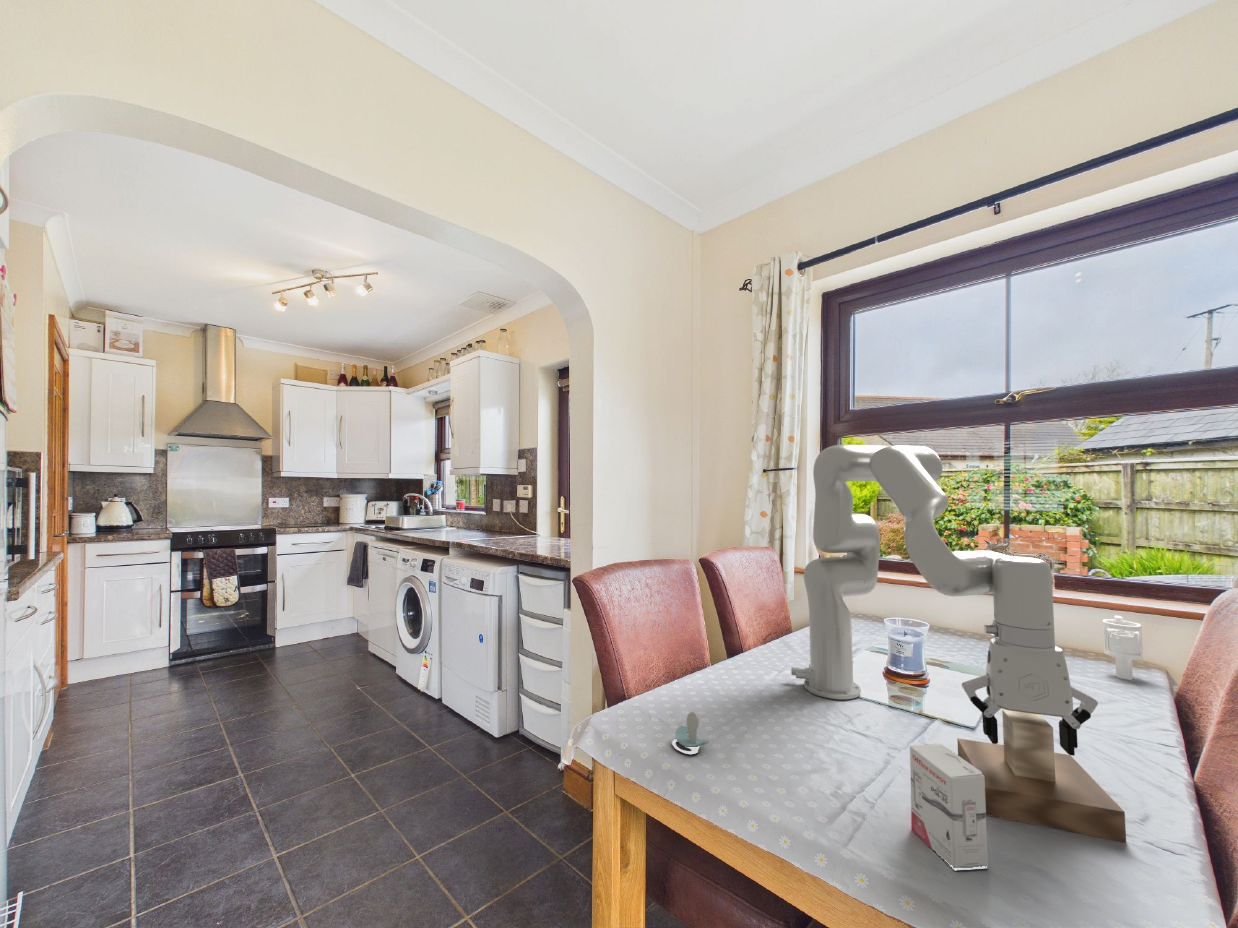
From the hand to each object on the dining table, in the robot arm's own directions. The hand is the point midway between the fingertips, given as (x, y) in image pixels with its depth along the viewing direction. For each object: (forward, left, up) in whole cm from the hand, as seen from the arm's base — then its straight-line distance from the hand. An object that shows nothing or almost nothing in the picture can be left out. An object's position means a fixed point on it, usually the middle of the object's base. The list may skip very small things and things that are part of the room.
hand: (1029, 745), depth 80 cm
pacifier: (-54, -4, -8) cm, 55 cm away
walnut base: (0, 0, -8) cm, 8 cm away
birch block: (0, 0, -4) cm, 4 cm away
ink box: (-15, -18, -8) cm, 25 cm away
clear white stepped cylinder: (+42, +70, -8) cm, 82 cm away
